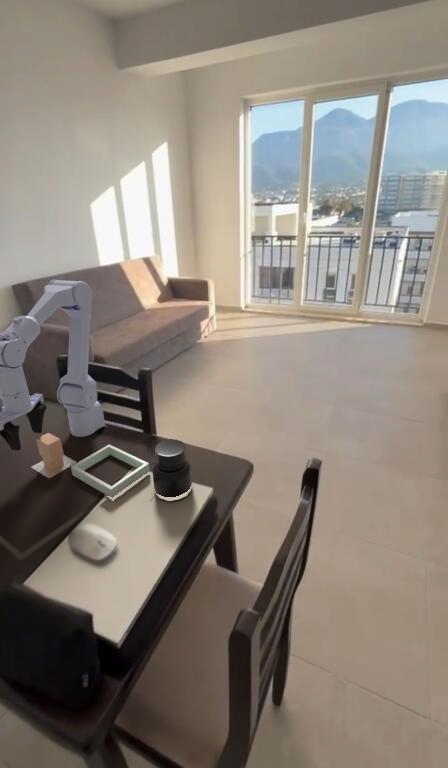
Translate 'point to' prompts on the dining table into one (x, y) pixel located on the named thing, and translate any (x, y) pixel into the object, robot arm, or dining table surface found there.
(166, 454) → the ink bottle
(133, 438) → the dining table surface
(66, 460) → the stud plate
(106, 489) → the parts bin
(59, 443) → the light orange block
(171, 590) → the dining table surface
